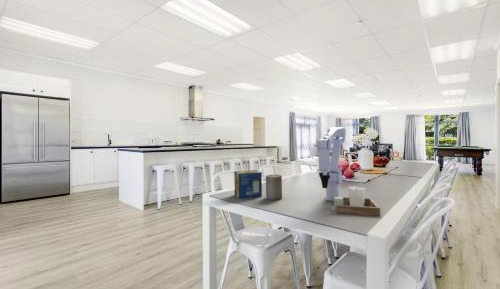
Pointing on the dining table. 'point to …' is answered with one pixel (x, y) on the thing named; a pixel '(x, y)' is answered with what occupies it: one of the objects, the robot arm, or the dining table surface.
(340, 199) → the block
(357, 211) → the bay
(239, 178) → the protein box
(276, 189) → the pillar candle
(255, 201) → the dining table surface
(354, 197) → the white cup
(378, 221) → the dining table surface
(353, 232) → the dining table surface
